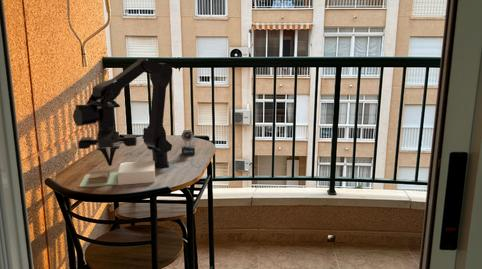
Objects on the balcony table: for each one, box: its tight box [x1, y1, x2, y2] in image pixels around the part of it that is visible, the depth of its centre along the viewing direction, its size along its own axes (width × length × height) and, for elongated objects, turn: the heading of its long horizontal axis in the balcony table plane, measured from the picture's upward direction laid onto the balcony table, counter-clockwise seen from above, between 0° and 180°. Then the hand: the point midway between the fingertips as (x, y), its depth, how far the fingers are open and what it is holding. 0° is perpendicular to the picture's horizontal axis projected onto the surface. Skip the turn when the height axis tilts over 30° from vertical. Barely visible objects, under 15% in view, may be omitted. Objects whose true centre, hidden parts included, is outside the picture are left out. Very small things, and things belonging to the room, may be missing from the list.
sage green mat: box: [78, 171, 118, 188], centre depth 140 cm, size 13×12×1 cm
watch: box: [181, 128, 196, 156], centre depth 172 cm, size 6×8×11 cm
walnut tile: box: [88, 168, 111, 184], centre depth 139 cm, size 9×6×2 cm, turn 12°
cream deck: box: [117, 160, 156, 186], centre depth 142 cm, size 13×12×4 cm
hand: (110, 165), depth 140 cm, fingers closed
